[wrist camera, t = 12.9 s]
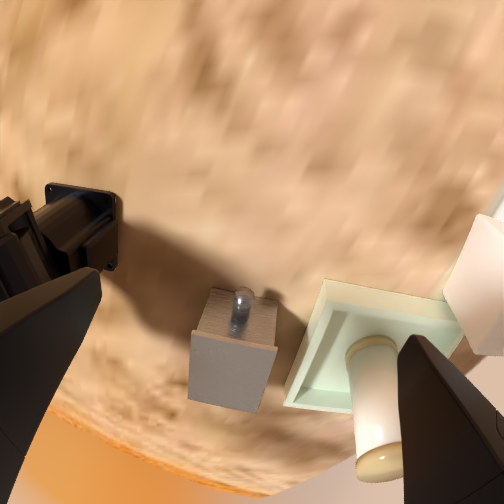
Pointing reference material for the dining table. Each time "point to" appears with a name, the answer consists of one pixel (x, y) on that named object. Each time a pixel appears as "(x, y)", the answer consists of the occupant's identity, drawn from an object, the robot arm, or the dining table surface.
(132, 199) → the dining table surface
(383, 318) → the tray
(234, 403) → the box
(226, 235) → the dining table surface
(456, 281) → the medicine bottle
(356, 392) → the fuse
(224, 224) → the dining table surface
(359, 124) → the dining table surface
